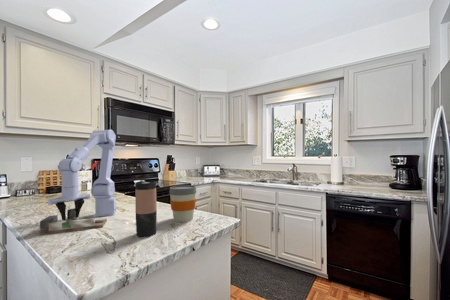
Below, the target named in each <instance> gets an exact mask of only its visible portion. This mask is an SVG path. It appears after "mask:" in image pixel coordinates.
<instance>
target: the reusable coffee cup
mask: <svg viewBox="0 0 450 300" xmlns="http://www.w3.org/2000/svg"><path fill="white" fill-rule="evenodd" d="M196 187H197V186H196V185H190V184H182V185H181V184H179V185H174V186H170V187H169V192H168V193H169V196H170V199H169V202H170V209H171V211H172V217H173V221H174V222H176V223H186V222H190V221H192V220H193V219H194V213H195V208H196V201H197V198H196V193H197V188H196Z"/></svg>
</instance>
